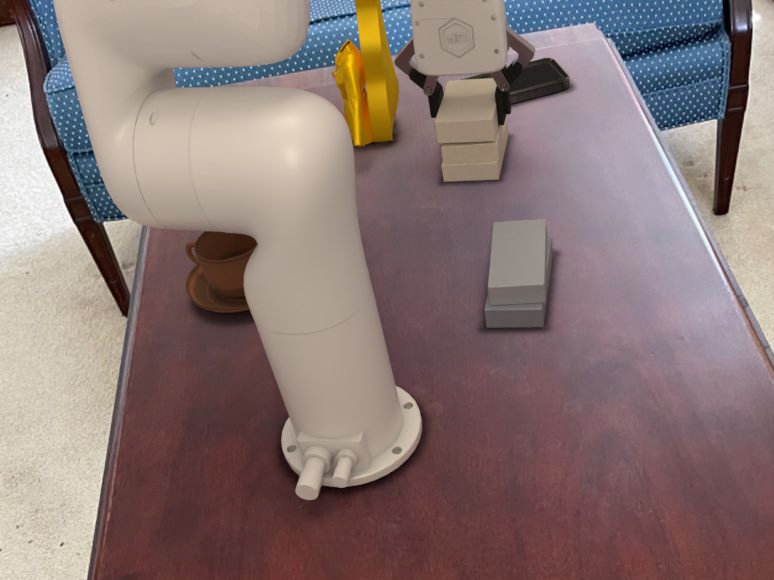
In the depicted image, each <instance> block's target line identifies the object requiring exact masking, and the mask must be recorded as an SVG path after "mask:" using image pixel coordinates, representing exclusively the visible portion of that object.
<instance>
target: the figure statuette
mask: <svg viewBox="0 0 774 580" xmlns="http://www.w3.org/2000/svg"><path fill="white" fill-rule="evenodd" d="M381 2H382V1H381V0H354V5H355V11H356V12H355V13H356V22H357V30H358V31H357V32H358V39H359V47H360V48H358V47H357V45H355V44H354V41H352V40H350V39H347V40H345V42H344V43H343V44H342V46H341V47H340V49H339V50H338V52H337V53H336V55H335V56H334V57H335V58H334V63H335V69H334V71H333V72H331V74H332V77H333V78H334V82H335V85H336V87H337V89H338V90H339V92H340V95H341V99H342V102H343V113H344V114H343V117H344V119H345V120H346V123H347V125H348V127H349V130H350V134H351V138H352V143H353V147H355V148H363V147H365V148H366V145H368V144H371V143H382V142H383V143H384V142H392V141H393V137H394V136H393V131H394V124H395V120H396V115H397V110H398V104H399V99H400V84H399V80H398V76H397V72H396V69H395V66H394V65H395V64H394V61H393V57H392V55H391V50H390V46H389V41H388V37H387V30H386V26H385V20H384V16H383V11H382V3H381Z"/></svg>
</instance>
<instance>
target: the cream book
mask: <svg viewBox="0 0 774 580" xmlns="http://www.w3.org/2000/svg"><path fill="white" fill-rule="evenodd" d="M496 86H497V84H496V83H495V81H494V79H493V78H485V79H468V80H460V79H455V80H454V79H453V80H452V79H451V80H447V83H446V85H445V88H444V91H443V92H444V96H443V99H442V102H441V105H440V107H439V110H438V113H437V116H436V119H435V120H434V128H435V132H436V133H435V134H436V140H437V144H442V143H461V142H482V141H495V137H496V133H497V128H498V117H497V108H496V102H495V90H496Z"/></svg>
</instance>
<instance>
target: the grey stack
mask: <svg viewBox="0 0 774 580" xmlns="http://www.w3.org/2000/svg"><path fill="white" fill-rule="evenodd" d="M553 257H554V247H553V237H552V236H548V229H547V218H535V219H521V220H520V219H519V220H518V219H517V220H506V221H493V222H492V234H491V245H490V257H489V265H488V266H489V268H488V278H487V295H486V300H485V305H484V309H483V312H484V319H485V327H486V328H487V329H488V328H489V329H490V328H491V329H492V328H493V329H494V328H495V329H496V328H498V329H499V328H500V329H502V328H506V329H507V328H544V326H545V319H546V311H547V303H548V295H549V290H550V289H549V288H550V281H551V274H552V273H551V272H552V265H553Z"/></svg>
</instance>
